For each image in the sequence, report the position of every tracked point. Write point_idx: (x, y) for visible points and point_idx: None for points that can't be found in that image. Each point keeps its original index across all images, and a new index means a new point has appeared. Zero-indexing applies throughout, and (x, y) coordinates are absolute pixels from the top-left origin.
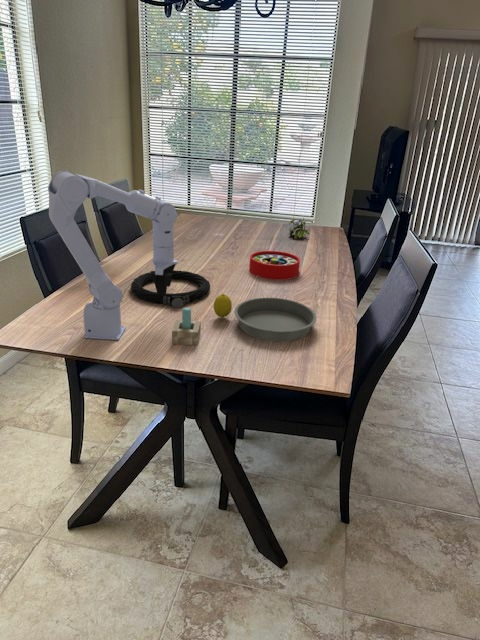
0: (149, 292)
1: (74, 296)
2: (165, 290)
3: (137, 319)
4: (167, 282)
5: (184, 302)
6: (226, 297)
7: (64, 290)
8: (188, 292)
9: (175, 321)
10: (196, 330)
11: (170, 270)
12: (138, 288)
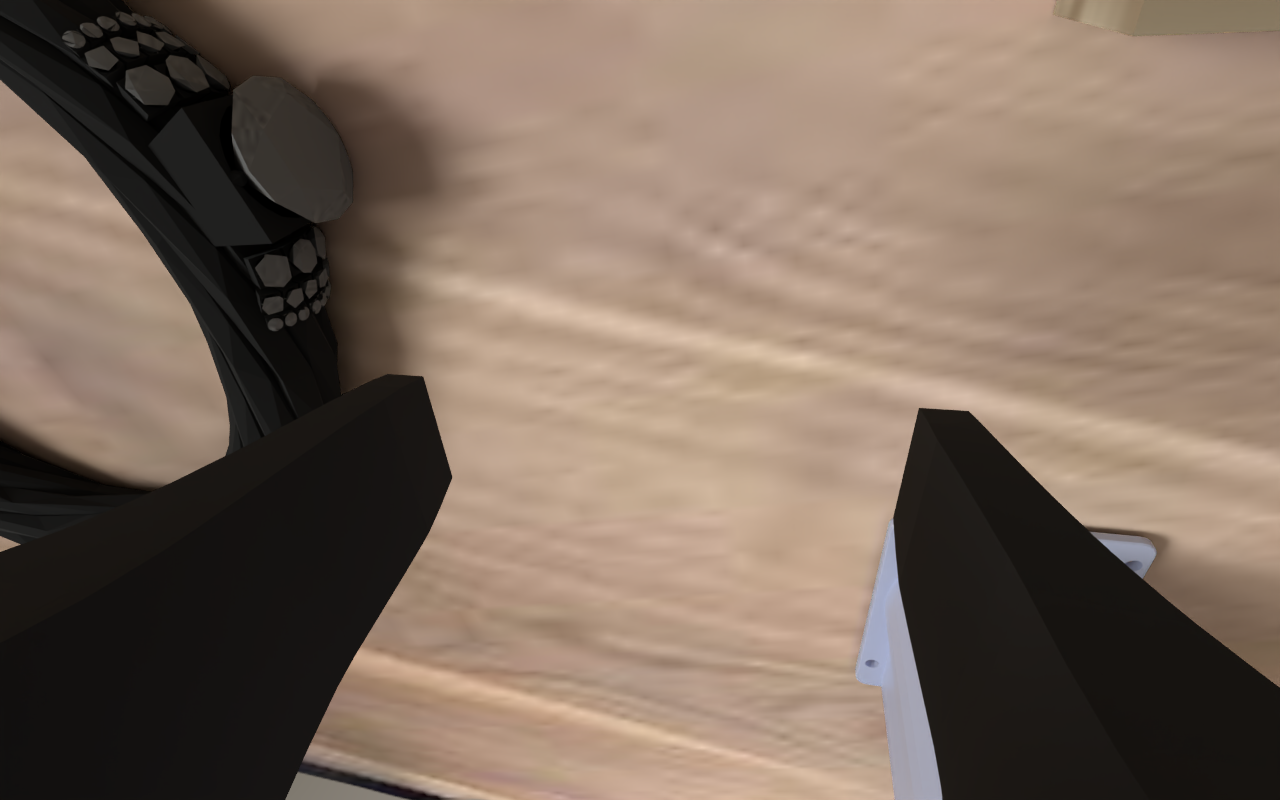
0: None
1: (456, 744)
2: (1038, 497)
3: (703, 452)
4: (1232, 695)
5: (205, 71)
6: None
7: (407, 772)
8: (3, 49)
9: (1203, 31)
10: None
11: (123, 658)
12: None
